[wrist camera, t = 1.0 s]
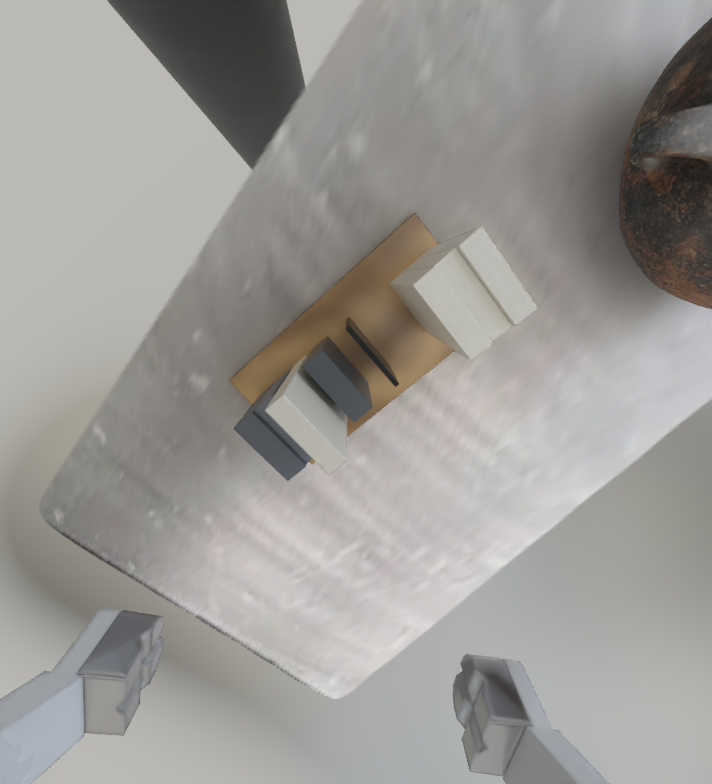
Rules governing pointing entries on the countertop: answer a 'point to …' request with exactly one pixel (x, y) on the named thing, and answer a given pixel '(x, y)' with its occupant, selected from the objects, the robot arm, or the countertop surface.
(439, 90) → the countertop surface
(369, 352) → the thin black tile
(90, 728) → the robot arm
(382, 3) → the countertop surface
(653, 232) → the jug
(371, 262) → the book board
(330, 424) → the thin cream book
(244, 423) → the grey books
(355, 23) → the countertop surface
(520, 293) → the cream books
